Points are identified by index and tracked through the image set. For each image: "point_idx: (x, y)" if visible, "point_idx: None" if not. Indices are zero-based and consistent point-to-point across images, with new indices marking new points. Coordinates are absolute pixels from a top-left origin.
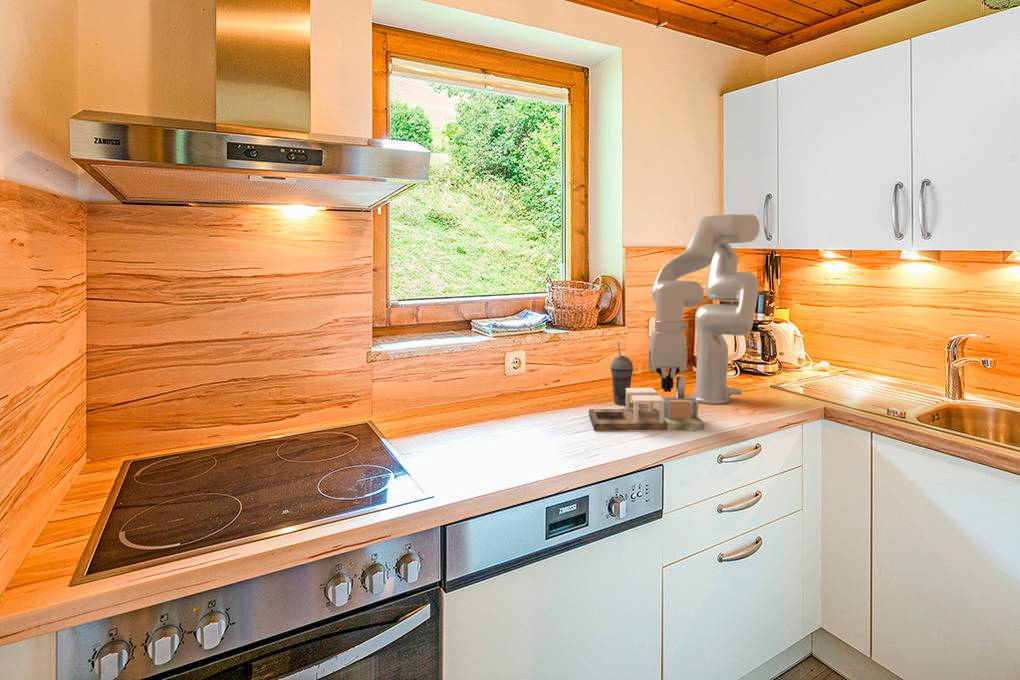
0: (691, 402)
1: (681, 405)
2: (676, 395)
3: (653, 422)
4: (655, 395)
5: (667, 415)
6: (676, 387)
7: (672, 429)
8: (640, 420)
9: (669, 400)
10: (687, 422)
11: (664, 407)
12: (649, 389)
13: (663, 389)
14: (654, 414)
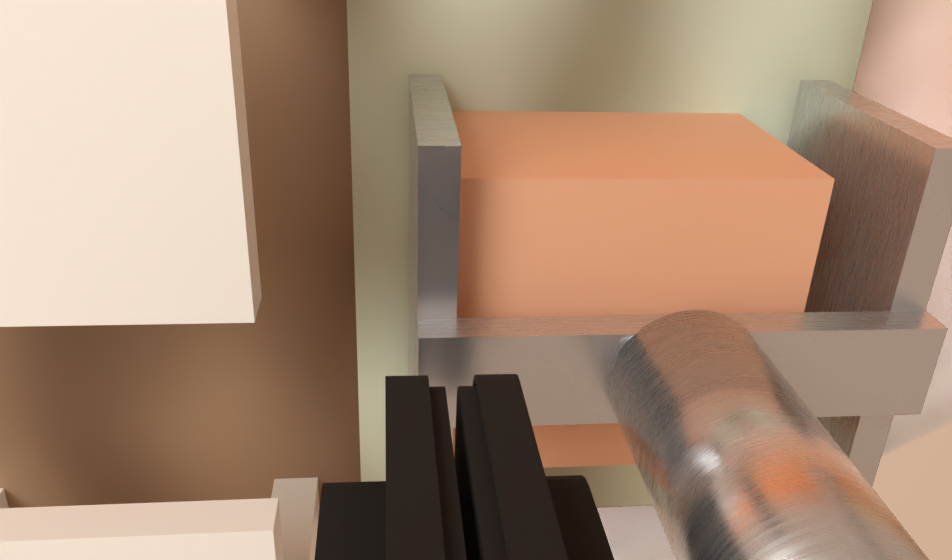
0: (855, 280)
1: (619, 459)
2: (621, 422)
3: (205, 491)
4: (187, 538)
5: (409, 374)
6: (665, 530)
7: None
8: (47, 428)
9: (518, 227)
10: (594, 483)
11: (411, 238)
12: (93, 36)
13: (385, 427)
14: (268, 178)
